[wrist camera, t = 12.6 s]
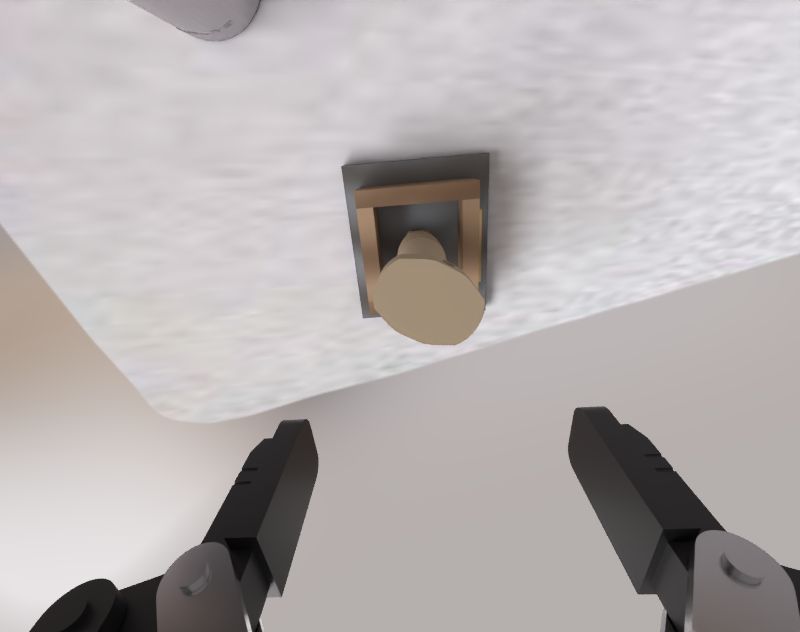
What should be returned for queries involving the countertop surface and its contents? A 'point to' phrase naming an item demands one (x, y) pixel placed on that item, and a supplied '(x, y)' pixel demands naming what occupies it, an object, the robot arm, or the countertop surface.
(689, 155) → the countertop surface
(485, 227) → the socket
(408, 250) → the handle
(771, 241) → the countertop surface
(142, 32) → the countertop surface
